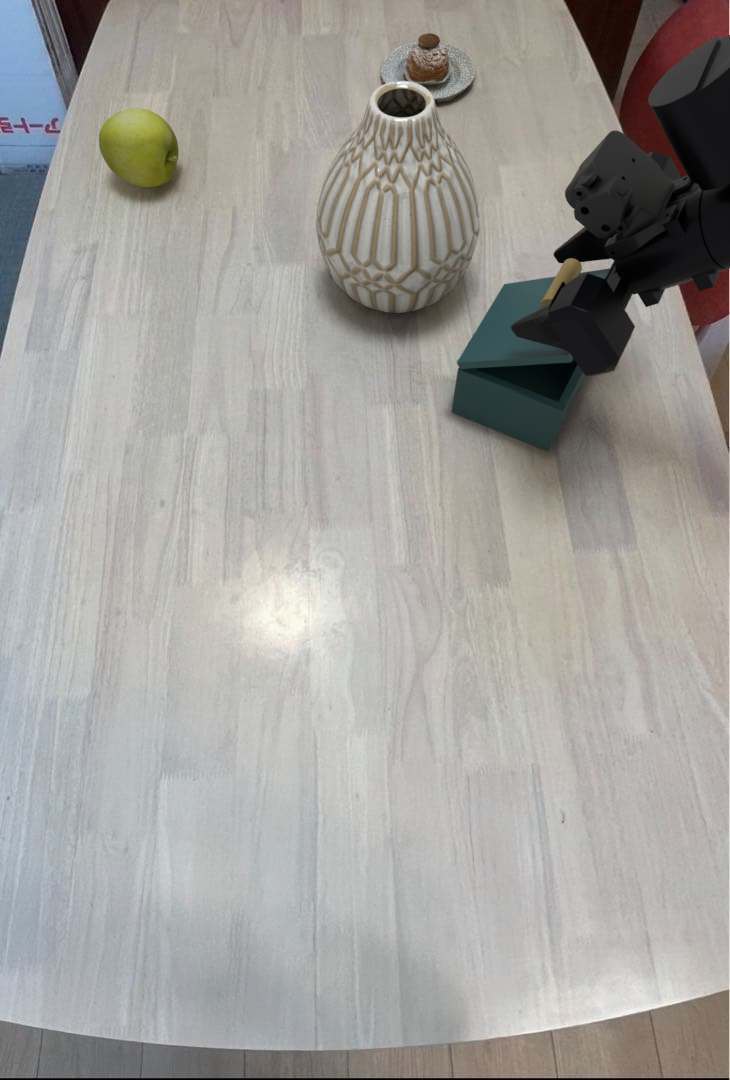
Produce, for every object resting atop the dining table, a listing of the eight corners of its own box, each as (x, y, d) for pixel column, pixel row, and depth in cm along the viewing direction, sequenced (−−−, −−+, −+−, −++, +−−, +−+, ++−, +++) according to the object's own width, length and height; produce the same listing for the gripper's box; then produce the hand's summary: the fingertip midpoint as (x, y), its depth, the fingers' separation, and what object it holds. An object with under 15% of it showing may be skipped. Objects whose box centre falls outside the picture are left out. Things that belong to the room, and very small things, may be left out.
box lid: (616, 275, 64) (602, 232, 61) (571, 362, 60) (553, 321, 57) (507, 290, 71) (490, 253, 68) (460, 369, 67) (439, 332, 64)
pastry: (481, 56, 98) (486, 19, 94) (464, 114, 93) (468, 76, 89) (392, 44, 99) (393, 6, 95) (370, 100, 94) (370, 62, 90)
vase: (335, 350, 76) (323, 176, 58) (310, 240, 83) (292, 55, 65) (487, 325, 77) (521, 147, 60) (449, 219, 84) (470, 32, 67)
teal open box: (588, 372, 74) (605, 328, 69) (548, 452, 70) (563, 411, 65) (495, 336, 77) (504, 290, 71) (451, 412, 73) (457, 369, 67)
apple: (176, 209, 86) (158, 145, 79) (103, 196, 87) (78, 131, 80) (200, 165, 89) (185, 99, 82) (129, 152, 90) (108, 86, 83)
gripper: (710, 40, 50) (527, 144, 62) (615, 214, 43) (429, 293, 55) (774, 180, 55) (593, 250, 68) (699, 356, 48) (511, 399, 60)
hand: (535, 293), depth 63 cm, fingers open, 9 cm apart
